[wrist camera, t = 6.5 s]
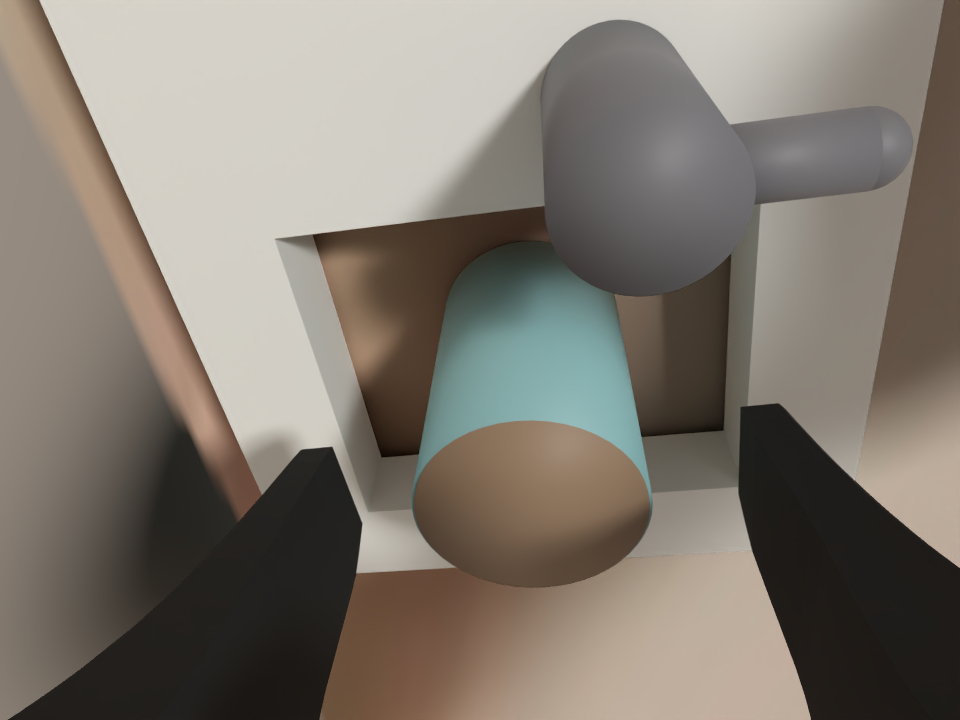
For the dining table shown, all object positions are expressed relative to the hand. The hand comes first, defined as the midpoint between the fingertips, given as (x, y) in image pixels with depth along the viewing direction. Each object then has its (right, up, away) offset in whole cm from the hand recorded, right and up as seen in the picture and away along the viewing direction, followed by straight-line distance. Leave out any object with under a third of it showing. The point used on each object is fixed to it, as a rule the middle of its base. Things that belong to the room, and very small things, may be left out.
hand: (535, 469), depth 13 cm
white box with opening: (0, +6, +2) cm, 6 cm away
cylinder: (0, +3, +4) cm, 5 cm away
